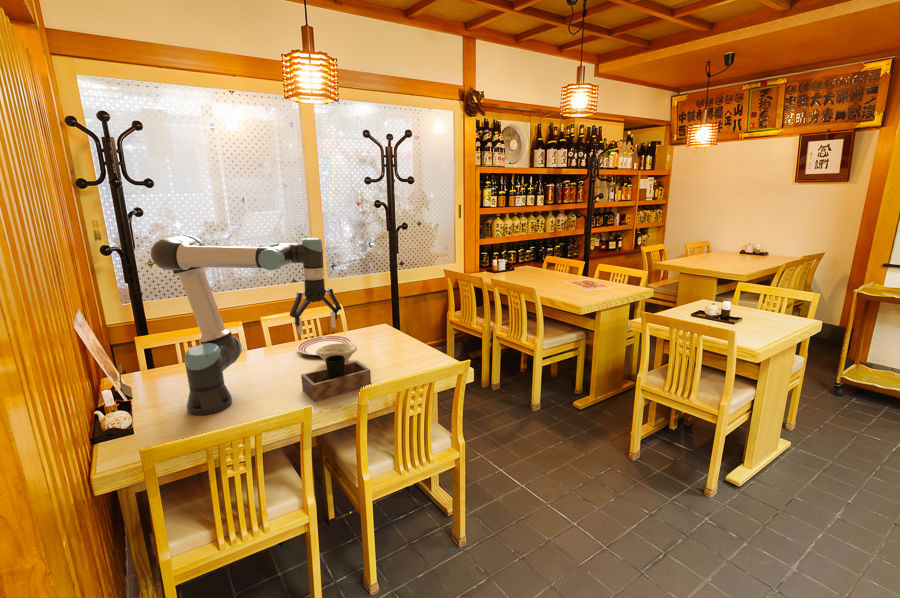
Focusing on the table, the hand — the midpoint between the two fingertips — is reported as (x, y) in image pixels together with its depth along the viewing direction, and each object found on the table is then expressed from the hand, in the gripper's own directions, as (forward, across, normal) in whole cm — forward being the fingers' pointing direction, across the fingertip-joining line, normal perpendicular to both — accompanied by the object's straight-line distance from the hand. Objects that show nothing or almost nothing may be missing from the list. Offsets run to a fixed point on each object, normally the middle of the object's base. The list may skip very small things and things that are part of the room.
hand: (317, 330), depth 178 cm
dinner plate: (+26, +20, +45) cm, 55 cm away
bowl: (+26, +17, +22) cm, 37 cm away
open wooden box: (+25, +6, -3) cm, 26 cm away
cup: (+24, +6, -3) cm, 25 cm away
